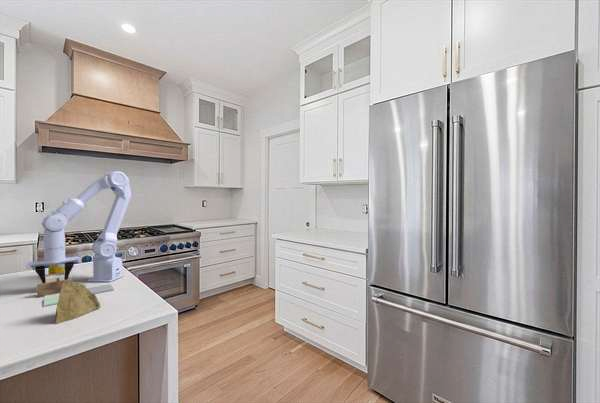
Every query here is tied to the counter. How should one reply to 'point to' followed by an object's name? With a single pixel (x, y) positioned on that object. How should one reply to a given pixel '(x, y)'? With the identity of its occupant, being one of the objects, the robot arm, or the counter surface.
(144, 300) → the counter surface
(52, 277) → the lettered cube
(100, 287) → the grey mat
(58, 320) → the rock
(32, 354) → the counter surface
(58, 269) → the supplement bottle
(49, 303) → the green mat
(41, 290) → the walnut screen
